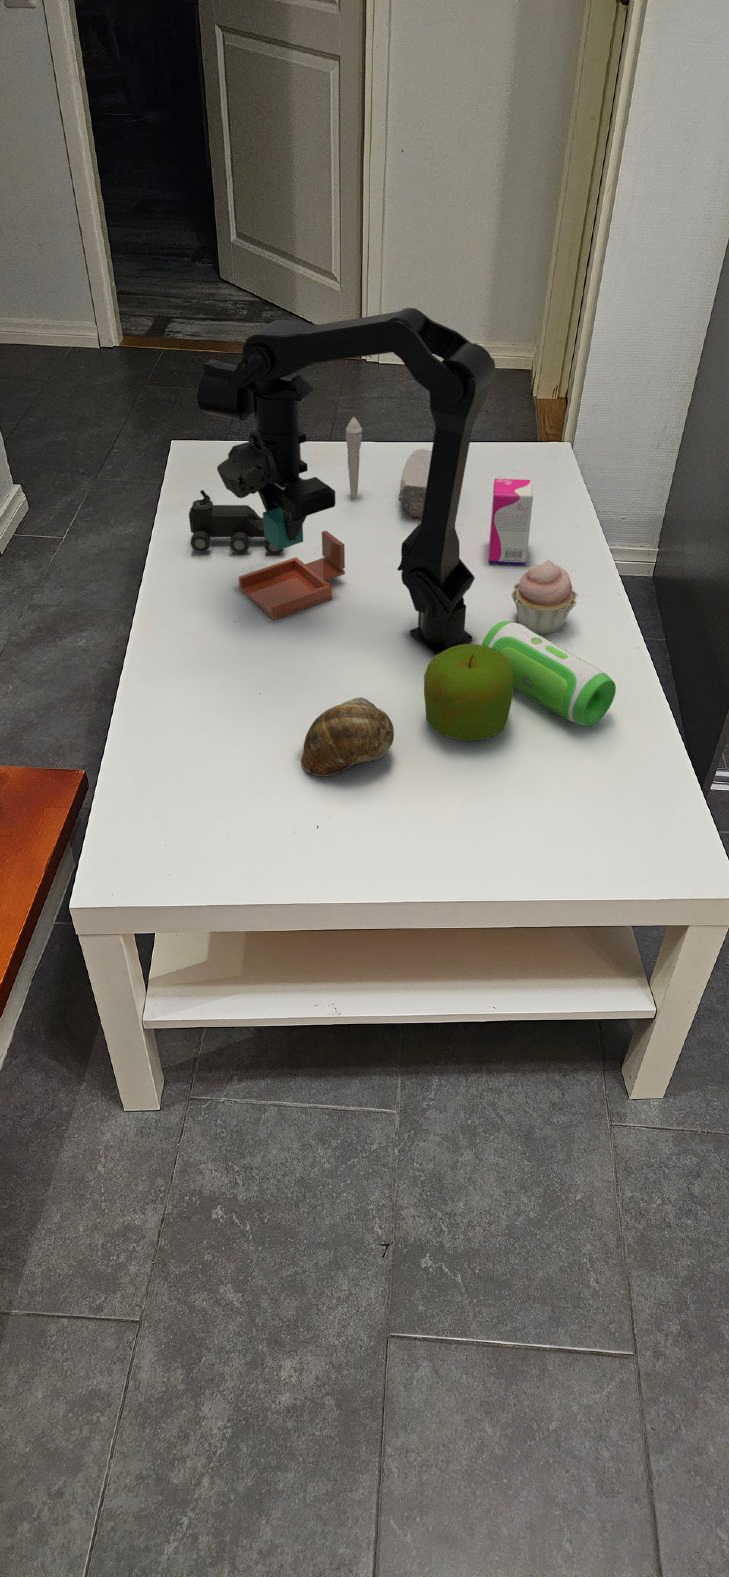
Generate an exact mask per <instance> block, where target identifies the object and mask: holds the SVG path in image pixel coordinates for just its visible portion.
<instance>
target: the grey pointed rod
mask: <svg viewBox="0 0 729 1577" xmlns="http://www.w3.org/2000/svg"><path fill="white" fill-rule="evenodd" d="M345 432H346V433H345V442H346V449H347V468H348V478H349V492H350V493H349V494H350V498H351V499H354V500H355V499H357V498H358V491H359V474H360V452H361V451H360V449H361V447H362V440H363V434H362V432H363V427H361V425H360V423H359V421H358V420H357V418H356V416H353V417H352V418H351V419H350V421H349V423H348V424H347V426H346V428H345Z"/></svg>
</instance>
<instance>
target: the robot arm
mask: <svg viewBox="0 0 729 1577" xmlns="http://www.w3.org/2000/svg"><path fill="white" fill-rule="evenodd" d="M242 348H243V349H242V358H241V360H240V362H239V363H238V364H232V363H226V362H223V361H221V360H218V359H213V358H211V359H210V360H209V361H207V362H205V363H204V364H203V374H202V376H201V378H200V380H199V383H198V388H197V389H198V390H197V393H196V401H197V402H196V403H197V405H198V408H199V409H200V411H201V412H202V413H204V414H207V415H212V416H217V417H222V418H227V419H231V420H236V421H241V422H244V421H246V420H247V419H248V418H250V416H251V415H253V414H254V424H255V425H254V426H255V430H253V431H250V432H249V435H248V438H247V439H248V441H247V442H243V443H240V444H236V445H232V447H231V448H230V451H229V452H228V453H227V458H226V459H224V461H222V462H220V463H219V464H218V465H217V467H216V470H217V472H218V475H219V477H220V479H221V481H222V483H223V485H224V487H225V489H226V490H227V491H230V492H231V493H232V494H233V495H235V497H237V498H238V499H244V498H246V497H248V496H249V495H250V494H251V495H255V494H258V495H259V498H260V500H261V502H262V505H263V508H264V510H265V512H266V511H269V510H272V509H275V508H281V509H282V512H283V517H284V523H285V529H286V534H287V538H288V540H289V541H292V540H295V539H296V537H297V535H298V533H299V531H300V529H301V527H302V525H303V524H304V523H305V521H306V519H307V517H308V516H310V515H314V514H317V513H319V512H323V511H326V510H328V509H332V508H334V507H336V505H337V504H336V502H337V501H336V490H334V488H332V487H331V486H329V485H328V484H326V483H325V482H324V481H322V480H321V479H319V477H316V476H313V477H311V478H302V477H300V474H302V473H305V472H308V463H306V461H304V460H302V457H301V456H302V454H301V453H302V452H301V444H304V443H307V434H306V433H305V432H303V431H302V430H301V429H300V411H299V402H302V401H303V400H304V399H306V398H307V397H308V396H309V395H311V394H312V393H313V392H314V390H315V388H314V387H313V386H312V385H311V384H310V383H309V382H308V381H306V380H305V379H304V378H303V377H302V375H301V374H299V373H298V374H296V375H295V376H293V377H292V379H291V378H286V377H287V376H290V375H292V374H294V373H296V372H298V371H300V370H302V369H305V368H307V367H310V366H312V365H315V364H321V363H327V362H328V363H329V362H334V361H343V360H349V359H356V358H365V357H370V356H371V357H372V356H377V355H384V354H390V353H393V354H394V355H395V356H396V357H398V358H399V359H400V360H401V361H402V363H403V364H404V366H405V367H406V369H407V370H408V372H409V373H410V375H411V376H412V377H413V379H414V380H415V381H416V382H417V383H418V384H419V385H421V387H423V388H424V389H425V390H427V391H428V393H429V398H428V399H429V410H430V414H431V418H432V421H433V424H434V435H433V441H432V448H431V451H432V454H431V460H430V467H429V473H428V480H427V486H426V493H425V499H424V506H423V512H422V519H420V523H418V524H417V526H416V527H415V528H414V529H413V530H412V531H411V533H410V534H409V535H408V536H407V537H406V538H405V539H404V540H403V542H402V543H401V550H400V553H401V560H400V563H399V565H398V567H397V571H401V575H400V576H401V582H402V584H403V585H404V586H405V587H406V588H407V590H408V593H409V595H410V599H411V602H412V604H413V607H414V611H415V612H417V614H418V616H417V625H418V626H417V627H415V628H412V629H410V630H409V635H410V636H411V637H413V638H414V639H415V640H416V641H418V643H420V644H421V645H422V646H424V647H425V648H426V649H427V650H428V651H430V652H431V653H432V654H434V655H435V656H436V655H438V654H439V653H441V652H443V651H445V650H446V649H448V648H450V647H454V646H457V645H461V644H469V643H471V642H472V641H473V636H472V635H471V634H469V633H468V632H467V631H466V630H465V629H466V628H465V627H466V613H467V605H466V604H465V599H464V595H465V594H466V593H467V592H468V591H469V590H470V589H471V587H472V585H473V583H474V581H475V579H476V577H475V575H474V574H473V573H472V572H471V571H470V569H469V568H468V566H466V564H465V563H464V562H463V560H461V558H460V539H459V535H458V532H457V530H456V521H457V516H458V510H459V506H460V499H461V495H462V494H461V493H462V487H463V482H464V477H465V471H466V466H467V460H468V454H469V449H470V443H471V437H472V434H473V428H474V425H475V422H476V420H477V418H478V416H479V414H480V411H481V410H482V407H483V405H484V404H485V401H486V400H487V397H488V394H489V391H490V389H491V386H492V383H493V380H494V377H495V374H496V363H495V360H494V358H493V357H492V356H491V354H490V352H489V351H488V350H487V349H486V348H484V347H483V346H482V345H479V344H477V343H475V342H474V343H473V342H471V341H470V340H468V339H467V338H466V337H465V336H463V335H462V334H461V333H460V332H458V331H456V330H454V329H452V328H450V327H448V326H445V325H443V324H441V323H439V322H436V321H434V320H432V319H431V318H430V317H429V316H427V315H426V314H425V313H424V312H422V311H421V310H419V309H417V308H414V307H404V308H403V309H401V310H399V311H394V312H387V313H380V314H376V315H370V316H363V317H358V318H352V319H351V318H350V319H346V320H338V321H334V322H327V323H321V324H319V323H318V324H317V323H309V322H306V321H304V320H298V319H297V320H296V319H275V320H273V321H271V322H270V323H268V324H266V325H265V326H263V327H261V329H259V330H257V331H256V332H254V333H252V334H251V335H250V336H248V337H247V338H246V339H245V340H244V344H243V347H242ZM436 356H437V357H439V358H441V359H443V360H442V361H441V360H440V359H438V358H437V357H436ZM303 526H304V525H303Z"/></svg>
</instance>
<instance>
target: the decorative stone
mask: <svg viewBox="0 0 729 1577" xmlns="http://www.w3.org/2000/svg"><path fill="white" fill-rule="evenodd" d="M431 454H432V450H429V449H425V448H416V449H414V450H413V451H412V453H411V454H410V455H409V456H408V457H407V459H406V461H405V464H404V466H403V470H402V474H401V479H400V486H399V487H400V489H399V495H398V501H399V502H401V505H402V506H403V508H404V509H405V511H406V513H407V515H408V516H410V517H411V519H415V520H416V519H417V520H421V519H422V512H423V506H424V499H425V493H426V486H427V480H428V473H429V467H430V460H431Z"/></svg>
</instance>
